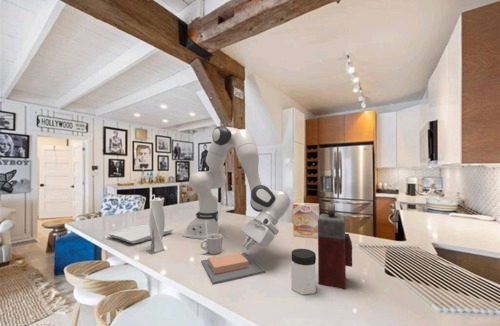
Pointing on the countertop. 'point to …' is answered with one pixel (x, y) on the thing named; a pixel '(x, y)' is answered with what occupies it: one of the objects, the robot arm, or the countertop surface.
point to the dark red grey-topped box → (333, 249)
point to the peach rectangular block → (227, 263)
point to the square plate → (136, 233)
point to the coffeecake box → (305, 220)
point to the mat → (234, 271)
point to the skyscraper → (156, 225)
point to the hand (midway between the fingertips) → (244, 247)
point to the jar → (303, 271)
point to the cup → (213, 243)
